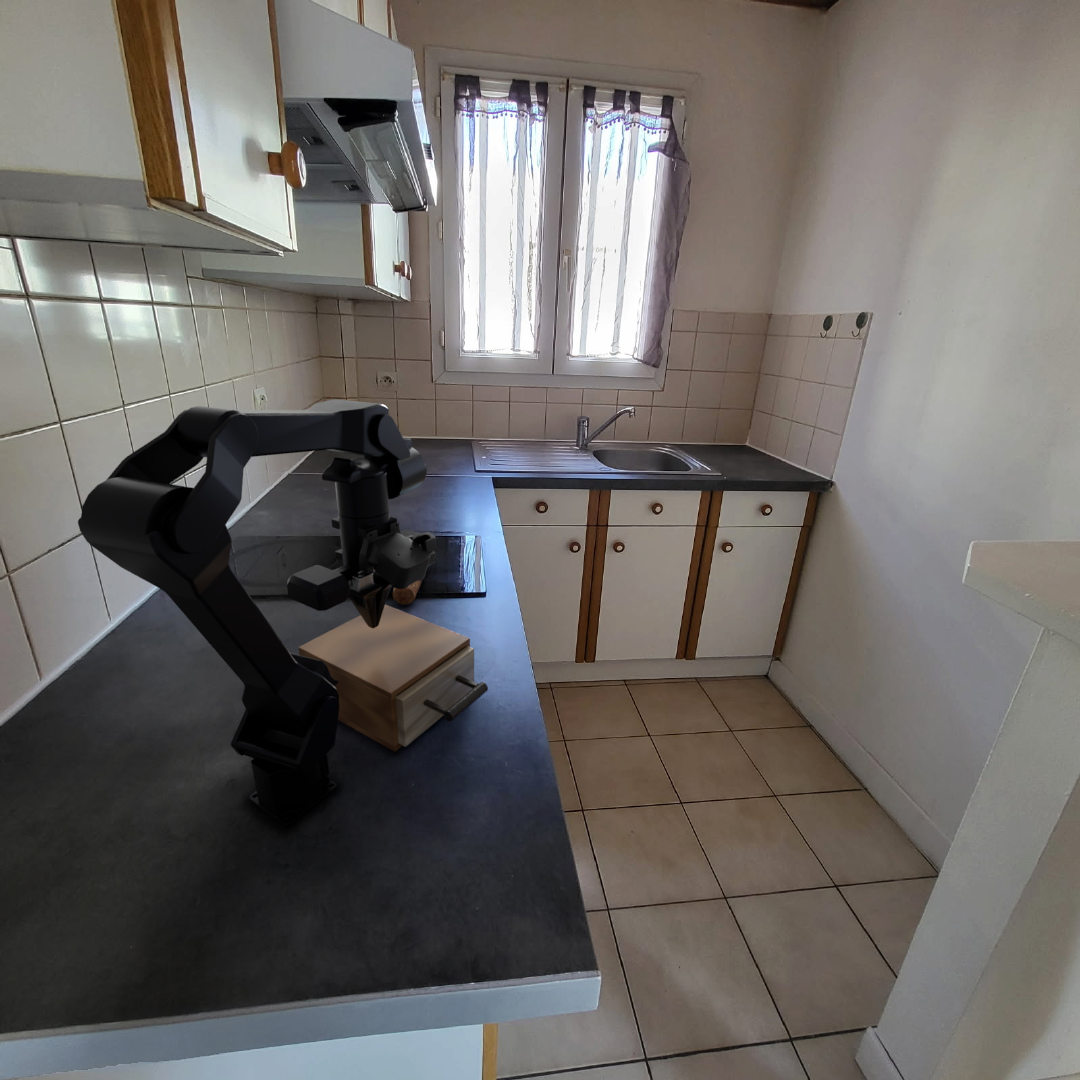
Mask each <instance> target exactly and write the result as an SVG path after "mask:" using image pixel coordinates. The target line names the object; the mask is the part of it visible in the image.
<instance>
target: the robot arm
mask: <svg viewBox="0 0 1080 1080" xmlns="http://www.w3.org/2000/svg"><path fill="white" fill-rule="evenodd" d="M389 411H390V409H389V408H388V407H387V406H386V405H385V404H382V403H377V402H368V401H367V402H366V401H356V400H346V399H338V398H337V399H336V398H335V399H334V398H333V399H328V400H325V401H321V402H317V403H314V404H313V405H312V406H311V407H310V408H306V409H228V408H218V407H209V406H200V405H197V406H192V407H189V408H188V409H184V410H183V411H182V412H180V413H179V414H177V416H176V417H175V419H174V420H173V421H172V422H171V423H170V425H169V426H168V427H167V428H166V430H165V431H163V432H162V433H160V434H159V435H157V436H156V437H154V438H152V439H151V440H150V441H148V442H147V443H145V444H144V445H142V446H141V447H139V448H138V449H136V450H134V451H133V452H131V453H130V454H128V455H127V456H126V457H124V458H123V459H122V460H121V461H120V463H119V464H118V465H117V466H116V468H115V469H114V470H113V471H112V472H111V474H110V475H109V476H108V477H107V478H106V480H104V481H102V482H100V483H98V484H96V486H95V487H94V488H93V489H92V490H91V491H90V492H89V493H88V494H87V496H86V498H85V500H84V502H83V504H82V506H81V507H82V508H81V513H80V514H81V515H80V517H79V518H78V520H77V525H78V529H79V532H80V533H81V535H82V537H83V538H84V539H85V541H86V543H88V545H90V546H91V547H92V548H94V549H95V550H97V552H99V553H100V554H102V555H104V556H105V557H106V558H108V559H109V560H110V561H112V562H113V563H114V564H116V565H117V566H119V568H121V569H123V570H124V571H127V572H129V573H131V574H133V575H134V576H136V577H138V578H140V579H141V580H144V581H145V582H147V583H149V584H150V585H153V586H155V587H156V588H158V589H160V590H161V591H162V592H164V593H165V594H166V595H167V596H168V597H169V598H170V600H171V601H173V603H174V604H175V606H177V608H178V609H179V610H180V611H181V612H182V613H183V615H184V616H185V617H186V618H187V619H188V620H189V622H190V623H191V624H192V625H193V627H194V628H195V629H196V630H197V631H198V632H199V633H200V635H201V636H202V637H203V638H204V639H205V640H206V641H207V643H208V644H209V645H210V646H211V647H212V648H213V650H214V651H215V652H216V653H217V654H218V655H219V657H220V658H221V659H222V660H223V661H224V663H225V664H226V665H227V666H228V667H229V668H230V670H231V671H233V673H234V674H235V675H236V676H237V677H238V679H239V680H240V681H241V682H242V683H243V685H244V687H243V691H242V692H243V693H242V696H241V702H242V704H243V706H244V708H245V710H244V712H243V715H242V717H241V719H240V721H239V723H238V726H237V729H236V730H235V732H234V735H233V738H232V739H231V742H230V746H231V748H232V749H233V750H234V751H235V753H236V754H237V755H239V756H246V757H248V758H252V759H251V760H250V764H251V765H250V766H251V770H252V775H253V780H254V786H255V791H254V792H252V793H251V794H250V796H249V801H250V803H251V804H253V805H254V806H256V807H257V808H258V809H259V810H261V811H262V812H264V814H266V815H267V816H269V817H270V818H271V819H272V820H273V821H276V822H277V823H278V824H280V825H281V826H282V827H284V828H289V827H291V826H292V825H294V824H295V823H296V822H297V821H299V820H300V819H301V818H302V817H303V816H305V815H306V814H308V813H309V812H310V811H311V810H312V809H313V808H315V807H316V806H317V805H318V804H320V803H321V802H322V801H323V800H325V799H326V798H327V797H329V796H330V795H331V794H332V793H334V792H335V791H336V790H337V789H338V787H337V782H335V781H334V780H332V779H331V778H329V777H328V776H329V775H330V766H329V757H328V753H329V752H330V751H331V750H332V749H333V748H334V747H335V744H336V738H337V732H338V731H337V730H338V722H339V720H338V716H339V707H340V705H339V694H338V692H337V689H336V687H335V685H336V684H338V680H335V679H333V678H332V676H331V675H330V672H329V669H328V667H327V665H326V664H325V663H324V662H323V661H321V660H317V659H313V658H309V657H305V656H301V655H299V654H297V653H293V652H290V651H289V649H288V648H287V647H286V645H285V644H284V643H283V641H282V639H281V638H280V637H279V635H278V634H277V632H276V631H275V629H274V628H273V627H272V625H271V624H270V622H269V621H268V620H267V618H266V616H265V615H264V614H263V612H262V611H261V610H260V608H259V606H258V605H257V604H256V602H255V600H253V598H252V596H251V595H250V594H249V592H248V591H247V590H246V588H245V587H244V586H243V583H242V582H241V581H240V580H239V578H238V576H237V575H236V574H235V572H234V571H233V570H232V568H231V566H230V556H231V550H232V544H233V540H232V537H231V534H230V531H229V529H228V527H227V523H228V521H229V520H230V519H231V517H232V516H233V514H234V512H235V511H236V510H237V508H238V507H239V505H240V503H241V501H242V499H243V498H242V497H243V496H242V495H243V484H244V482H243V481H244V469H245V467H246V465H247V464H248V463H249V461H250V460H251V458H254V457H265V456H275V455H276V456H277V455H285V454H286V455H287V454H298V453H307V452H308V453H309V452H318V451H331V452H337V453H343V454H348V455H357V456H363V457H354V458H351V459H350V458H343V457H333V458H332V461H331V462H330V464H329V465H328V466H327V467H326V468H325V469H324V470H323V472H322V473H321V477H320V478H321V480H322V481H325V482H332V483H334V485H335V495H336V506H337V517H333V518H331V527H332V529H333V528H334V529H337V530H339V537H340V546H341V548H339V549H338V550H336V551H334V557H335V560H336V561H340V562H341V563H342V562H343V566H340V567H338V568H336V569H331V568H328V567H325V566H322V565H319V564H316V565H315V564H314V565H313V566H310V567H308V568H305V569H303V570H301V571H298V572H295V573H292V574H291V575H290V576H289V578H288V579H287V581H286V590H287V597H288V599H290V600H293V601H295V602H297V603H300V604H302V605H304V606H306V607H309V608H311V609H313V610H315V611H318V612H322V611H323V612H324V611H328V610H330V609H332V608H334V607H336V606H338V605H340V604H342V603H345V602H346V601H347V599H348V598H349V600H350V601H351V603H352V604H353V606H354V607H355V609H356V610H357V611H358V613H359V616H360V615H361V616H362V618H363V619H364V621H365V622H366V624H367V625H368V626H369V627H371V628H375V627H377V626H378V625H379V622H380V619H381V616H382V613H383V609H384V606H385V605H386V603H387V601H388V597H389V594H390V592H391V589H392V588H393V589H394V588H396V589H405V588H407V587H408V586H409V585H410V584H412V583H414V582H416V581H418V580H419V581H420V580H422V581H423V580H424V579H425V577H426V573H427V571H428V568H429V566H431V565H434V564H436V563H437V560H438V559H437V553H438V545H437V538H436V536H435V535H434V534H432V533H431V532H429V531H425V532H423V533H420V532H416V531H412V530H411V529H410V530H409V529H403V530H400V523H399V522H398V518H397V517H393V516H390V504H389V503H390V502H389V500H394V499H397V498H399V497H400V496H402V495H404V494H406V493H408V492H410V491H411V490H413V489H415V488H418V487H419V486H420V485H422V484H423V482H425V480H426V477H427V475H428V473H427V472H428V468H427V467H428V466H427V464H426V461H425V460H424V458H423V456H422V454H421V453H420V452H419V451H418V450H416V449H415V448H414V447H413V442H412V441H413V440H412V438H409V437H403V435H402V433H401V431H400V430H399V427H398V425H397V424H396V422H395V420H394V418H393V417H392V416H391V415H390V413H389ZM204 458H206V461H205V470H204V473H203V474H202V476H201V477H200V478H199V480H198V481H197V482H196V484H195V485H194V487H190V486H186V485H185V486H184V485H179V484H173V482H174V481H176V480H178V479H179V478H180V477H181V476H184V474H186V473H187V472H189V471H191V470H192V469H193V468H195V467H196V466H198V465H199V464H200V463H201V462H202V460H203V459H204ZM171 483H172V484H171ZM427 567H428V568H427Z"/></svg>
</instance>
